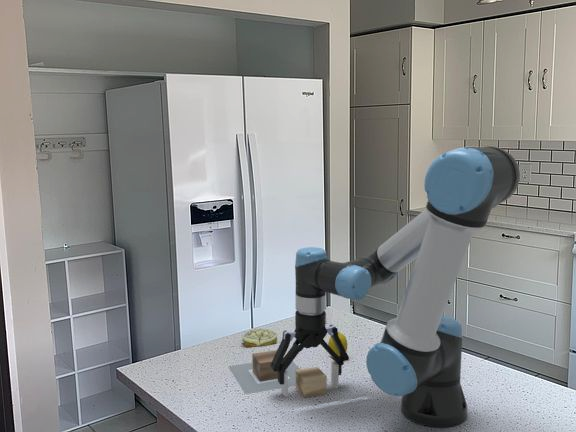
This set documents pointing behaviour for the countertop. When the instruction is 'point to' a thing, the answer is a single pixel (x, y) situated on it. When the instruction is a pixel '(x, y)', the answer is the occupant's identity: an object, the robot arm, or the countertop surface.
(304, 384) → the oak cube
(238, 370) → the grey square plate
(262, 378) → the walnut base
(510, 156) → the robot arm
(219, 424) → the countertop surface
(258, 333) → the decorated donut
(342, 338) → the lemon
